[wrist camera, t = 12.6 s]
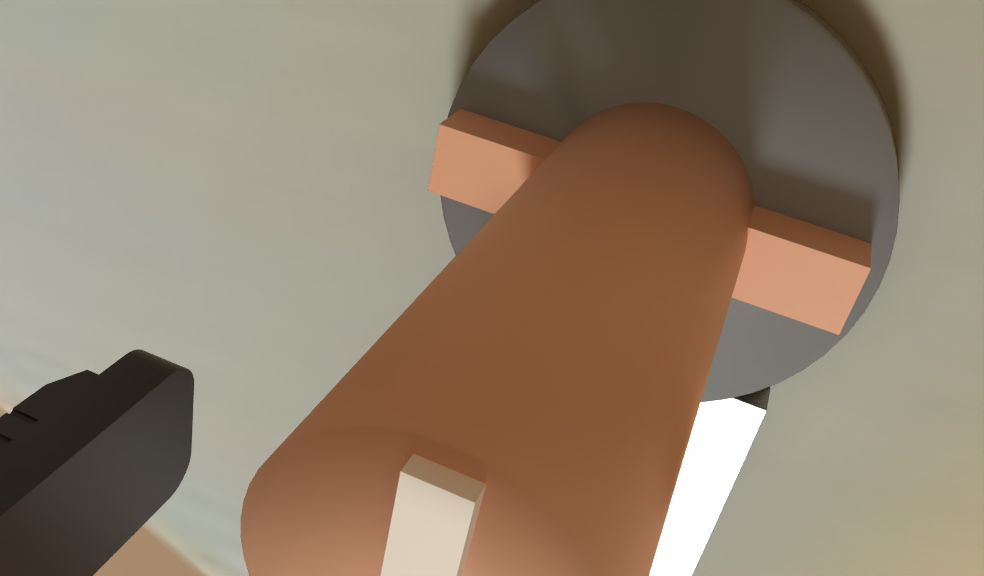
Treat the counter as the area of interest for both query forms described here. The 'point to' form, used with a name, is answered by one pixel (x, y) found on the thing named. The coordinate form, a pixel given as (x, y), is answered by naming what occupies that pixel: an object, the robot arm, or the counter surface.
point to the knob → (545, 359)
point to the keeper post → (707, 478)
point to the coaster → (727, 107)
